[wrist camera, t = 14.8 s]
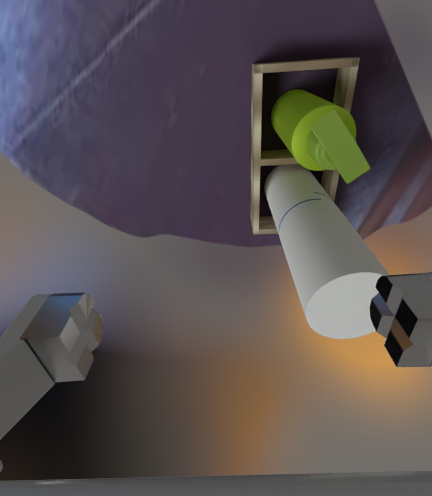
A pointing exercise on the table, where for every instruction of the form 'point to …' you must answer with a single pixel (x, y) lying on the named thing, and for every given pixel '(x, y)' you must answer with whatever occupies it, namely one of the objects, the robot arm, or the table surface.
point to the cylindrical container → (323, 254)
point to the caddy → (284, 156)
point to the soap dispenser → (318, 134)
